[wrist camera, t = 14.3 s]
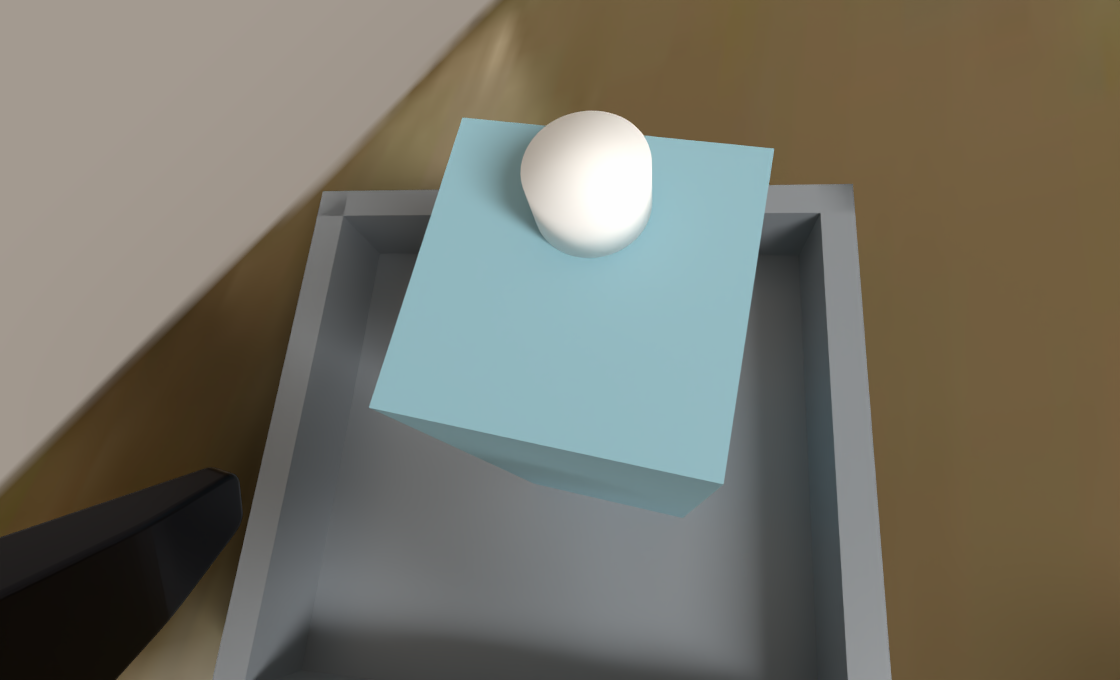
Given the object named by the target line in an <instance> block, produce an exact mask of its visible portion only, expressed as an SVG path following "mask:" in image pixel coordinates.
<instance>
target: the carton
mask: <svg viewBox="0 0 1120 680" xmlns="http://www.w3.org/2000/svg"><path fill="white" fill-rule="evenodd" d="M773 153H774V149H772V148H762V147H752V146H742V145H732V144H722V143H712V142H702V141H692V140H682V139H672V138H662V137H652V136H643V134H642V133H641V132H640V131H639V130H638V128H637V127H636V126H634V125H633V124H632V123H630V122H629V121H628V120H626V119H624V118H622V117H620V116H617V115H615V114H612V113H608V112H602V111H581V112H576V113H572V114H568V115H565V116H563V117H561V118H558V119H556V120H555V121H553V122H551V123H550V124H548V125H547V126H541V125H531V124H521V123H511V122H501V121H491V120H481V119H471V118H462V121H461V124H460V127H459V130H458V133H457V137H456V140H455V143H454V146H453V149H452V152H451V155H450V158H449V161H448V164H447V167H446V171H445V174H444V177H443V180H442V183H441V186H440V189H439V192H438V195H437V198H436V201H435V205H434V208H433V211H432V214H431V217H430V220H429V223H428V226H427V229H426V232H425V235H424V239H423V242H422V245H421V248H420V251H419V254H418V257H417V260H416V263H415V266H414V269H413V273H412V276H411V279H410V282H409V285H408V288H407V291H406V294H405V297H404V300H403V303H402V307H401V310H400V313H399V316H398V319H397V322H396V325H395V328H394V331H393V334H392V337H391V341H390V344H389V347H388V350H387V353H386V356H385V359H384V362H383V365H382V368H381V371H380V375H379V378H378V381H377V384H376V387H375V390H374V393H373V396H372V399H371V402H370V405H369V408H371V409H373V410H375V411H377V412H379V413H382V414H384V415H386V416H388V417H390V418H392V419H395V420H397V421H399V422H401V423H403V424H406V425H408V426H410V427H412V428H414V429H416V430H419V431H421V432H423V433H425V434H427V435H429V436H432V437H434V438H436V439H438V440H440V441H442V442H445V443H447V444H449V445H451V446H453V447H456V448H458V449H460V450H462V451H464V452H466V453H469V454H471V455H473V456H475V457H477V458H479V459H482V460H484V461H486V462H488V463H490V464H492V465H495V466H497V467H499V468H501V469H503V470H506V471H508V472H510V473H512V474H514V475H516V476H519V477H521V478H523V479H525V480H527V481H529V482H532V483H534V484H538V485H542V486H546V487H551V488H555V489H559V490H564V491H568V492H572V493H577V494H581V495H585V496H590V497H594V498H598V499H603V500H607V501H611V502H616V503H620V504H624V505H629V506H633V507H637V508H642V509H646V510H650V511H655V512H659V513H663V514H668V515H672V516H676V517H681V518H683V517H684V516H686V515H687V514H688V513H689V512H691V511H692V510H693V509H694V508H695V507H697V506H698V505H699V504H700V503H702V502H703V501H704V500H705V499H706V498H708V497H709V496H710V495H711V494H712V493H714V492H715V491H716V490H717V489H719V488H720V487H721V486H722V485H723V484H724V478H725V471H726V465H727V458H728V452H729V445H730V438H731V432H732V425H733V418H734V412H735V405H736V398H737V392H738V385H739V379H740V372H741V365H742V359H743V352H744V345H745V339H746V332H747V325H748V319H749V312H750V306H751V299H752V292H753V286H754V279H755V272H756V266H757V259H758V252H759V246H760V239H761V232H762V226H763V219H764V213H765V206H766V199H767V193H768V186H769V179H770V173H771V166H772V159H773Z"/></svg>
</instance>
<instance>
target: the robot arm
mask: <svg viewBox="0 0 1120 680" xmlns="http://www.w3.org/2000/svg"><path fill="white" fill-rule="evenodd" d="M242 516H243V511H242V502H241V492H240V483H239V479H238V477H237V476H236V475H235V474H233V473H230V472H227V471H224V470H221V469H218V468H213V467H210V468H206V469H202V470H199V471H196V472H193V473H190V474H187V475H184V476H181V477H178V478H175V479H172V480H169V481H167V482H164V483H161V484H158V485H155V486H152V487H149V488H146V489H143V490H140V491H137V492H134V493H131V494H128V495H125V496H122V497H119V498H116V499H113V500H110V501H107V502H104V503H101V504H98V505H95V506H92V507H89V508H86V509H83V510H80V511H77V512H74V513H71V514H68V515H65V516H63V517H60V518H57V519H54V520H51V521H48V522H45V523H42V524H39V525H36V526H33V527H30V528H27V529H24V530H21V531H18V532H15V533H12V534H9V535H6V536H3V537H0V680H116V679H117V678H118V677H119V676H120V675H121V673H122V672H123V671H124V670H125V669H126V668H127V667H128V666H129V665H130V663H131V662H132V661H133V660H134V659H135V658H136V657H137V656H138V655H139V653H140V652H141V651H142V650H143V649H144V648H145V647H146V646H147V645H148V643H149V642H150V641H151V640H152V639H153V638H154V637H155V636H156V635H157V633H158V632H159V631H160V630H161V629H162V628H163V626H164V625H165V624H166V623H167V622H168V621H169V619H170V618H171V617H172V616H173V614H174V613H175V612H176V611H177V609H178V608H179V607H180V606H181V604H182V603H183V602H184V600H185V599H186V598H187V596H188V595H189V594H190V592H191V591H192V590H193V588H194V587H195V586H196V584H197V583H198V582H199V580H200V579H201V578H202V576H203V575H204V574H205V572H206V571H207V570H208V568H209V567H210V566H211V564H212V563H213V562H214V560H215V559H216V558H217V556H218V555H219V554H220V552H221V551H222V550H223V548H224V547H225V546H226V544H227V543H228V542H229V540H230V539H231V538H232V536H233V535H234V534H235V532H236V531H237V529H238V527H239V526H240V523H241V520H242Z"/></svg>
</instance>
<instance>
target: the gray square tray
mask: <svg viewBox="0 0 1120 680" xmlns="http://www.w3.org/2000/svg"><path fill="white" fill-rule="evenodd" d="M438 192H439V190H381V191H323V194H322V198H321V202H320V207H319V211H318V216H317V220H316V225H315V229H314V233H313V238H312V242H311V247H310V251H309V255H308V260H307V264H306V269H305V273H304V277H303V282H302V286H301V291H300V295H299V300H298V304H297V308H296V313H295V317H294V322H293V326H292V330H291V335H290V339H289V344H288V348H287V353H286V357H285V361H284V366H283V370H282V375H281V379H280V383H279V388H278V392H277V397H276V401H275V406H274V410H273V414H272V419H271V423H270V428H269V432H268V436H267V441H266V445H265V450H264V454H263V458H262V463H261V467H260V472H259V476H258V481H257V485H256V489H255V494H254V498H253V503H252V507H251V511H250V516H249V520H248V525H247V529H246V534H245V538H244V542H243V547H242V551H241V556H240V560H239V564H238V569H237V573H236V578H235V582H234V587H233V591H232V595H231V600H230V604H229V609H228V613H227V617H226V622H225V626H224V631H223V635H222V639H221V644H220V648H219V653H218V657H217V662H216V666H215V670H214V675H213V679H212V680H891V668H890V655H889V642H888V629H887V617H886V604H885V591H884V578H883V565H882V553H881V540H880V527H879V514H878V501H877V488H876V476H875V463H874V450H873V437H872V424H871V412H870V399H869V386H868V373H867V360H866V348H865V335H864V322H863V309H862V296H861V283H860V271H859V258H858V245H857V232H856V219H855V207H854V194H853V184H827V185H769V186H768V193H767V199H766V206H765V213H764V219H763V226H762V232H761V239H760V246H759V252H758V259H757V266H756V272H755V279H754V286H753V292H752V299H751V306H750V312H749V319H748V325H747V332H746V339H745V345H744V352H743V359H742V365H741V372H740V379H739V385H738V392H737V398H736V405H735V412H734V418H733V425H732V432H731V438H730V445H729V452H728V458H727V465H726V471H725V478H724V484H723V485H722V486H721V487H720V488H719V489H717V490H716V491H715V492H714V493H712V494H711V495H710V496H709V497H708V498H706V499H705V500H704V501H703V502H702V503H700V504H699V505H698V506H697V507H695V508H694V509H693V510H692V511H691V512H689V513H688V514H687V515H686V516H684V517H683V518H681V517H676V516H672V515H668V514H663V513H659V512H655V511H650V510H646V509H642V508H637V507H633V506H629V505H624V504H620V503H616V502H611V501H607V500H603V499H598V498H594V497H590V496H585V495H581V494H577V493H572V492H568V491H564V490H559V489H555V488H551V487H546V486H542V485H538V484H534V483H532V482H529V481H527V480H525V479H523V478H521V477H519V476H516V475H514V474H512V473H510V472H508V471H506V470H503V469H501V468H499V467H497V466H495V465H492V464H490V463H488V462H486V461H484V460H482V459H479V458H477V457H475V456H473V455H471V454H469V453H466V452H464V451H462V450H460V449H458V448H456V447H453V446H451V445H449V444H447V443H445V442H442V441H440V440H438V439H436V438H434V437H432V436H429V435H427V434H425V433H423V432H421V431H419V430H416V429H414V428H412V427H410V426H408V425H406V424H403V423H401V422H399V421H397V420H395V419H392V418H390V417H388V416H386V415H384V414H382V413H379V412H377V411H375V410H373V409H371V408H369V405H370V402H371V399H372V396H373V393H374V390H375V387H376V384H377V381H378V378H379V375H380V371H381V368H382V365H383V362H384V359H385V356H386V353H387V350H388V347H389V344H390V341H391V337H392V334H393V331H394V328H395V325H396V322H397V319H398V316H399V313H400V310H401V307H402V303H403V300H404V297H405V294H406V291H407V288H408V285H409V282H410V279H411V276H412V273H413V269H414V266H415V263H416V260H417V257H418V254H419V251H420V248H421V245H422V242H423V239H424V235H425V232H426V229H427V226H428V223H429V220H430V217H431V214H432V211H433V208H434V205H435V201H436V198H437V195H438Z"/></svg>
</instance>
